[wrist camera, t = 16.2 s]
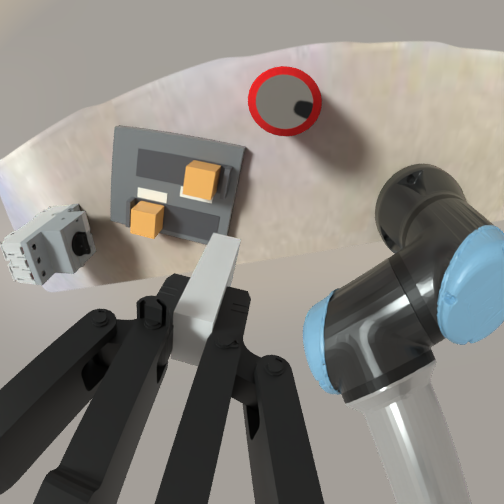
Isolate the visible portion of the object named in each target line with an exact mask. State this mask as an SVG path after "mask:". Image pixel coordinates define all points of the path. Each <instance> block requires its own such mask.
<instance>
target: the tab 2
mask: <svg viewBox="0 0 504 504" xmlns="http://www.w3.org/2000/svg"><path fill="white" fill-rule="evenodd" d="M220 170H221V166H220V165H216V164H211V163H206V162H201V161H196V160H193V161H192V162H191V163H189V164H188V165H187V166H186V170H185V178H184V185H183V193H182V194H184V195H189V196H193V197H198V198H202V199H207V200H211V199H212V198H213V196H214V195H215V193H216V192H217V186H218V181H219V175H220Z"/></svg>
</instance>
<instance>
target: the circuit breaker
mask: <svg viewBox="0 0 504 504" xmlns="http://www.w3.org/2000/svg"><path fill="white" fill-rule="evenodd" d="M12 234H13V235H12ZM4 239H5V241H3V242H2V243H1V242H0V247H1V250H2V253H3V255H4V258H5V260H6V261H10V263H9V264H8V265H7V266H8V268H9V271H10V273H11V275H12V278H13V280H14V282H15V281H16V280H17V282H21V283H28V284H36V285H43V284H44V283H45V282H46V281H47V280H48V279H49V278H50V277H51V276H52V275H53V274H54V273H68V274H74V273H75V272H76V271H77V270H78V269H79V268H80V267H83V266H84V265H85V264H84V263H85V262H86V261H87V260H88V259H89V258H90V257H91V256H92V255H93V254H94V253H95V252H96V248H95V245H94V241H93V237H92V234H91V233H90V226H89V222H88V218H87V214H86V211H80V208H79V204H72V205H60V206H53V207H51V206H49V207H48V209H46V210H43V211H42V212H40V213H39V214H37V215H36V216H35V218H34V219H33V220H31V221H30V222H28V223H27V224H25V225H24V226H23V227H21V228H20V229H19V230H17V231H13V232H12V233H10V234H9V235H8V236H6V237H5V238H4ZM5 253H6V254H5Z"/></svg>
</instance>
